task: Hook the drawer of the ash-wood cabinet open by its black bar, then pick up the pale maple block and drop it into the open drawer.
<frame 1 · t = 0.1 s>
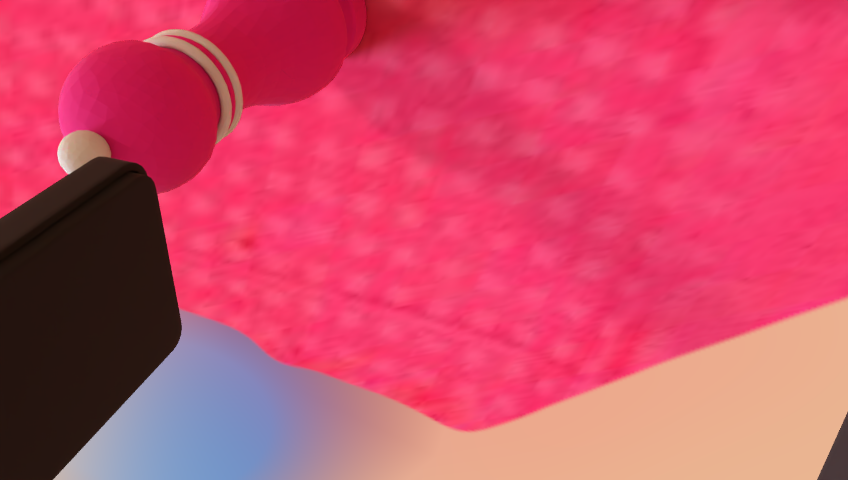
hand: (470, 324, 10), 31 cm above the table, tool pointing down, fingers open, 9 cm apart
pepper mill: (317, 6, 43), on the table
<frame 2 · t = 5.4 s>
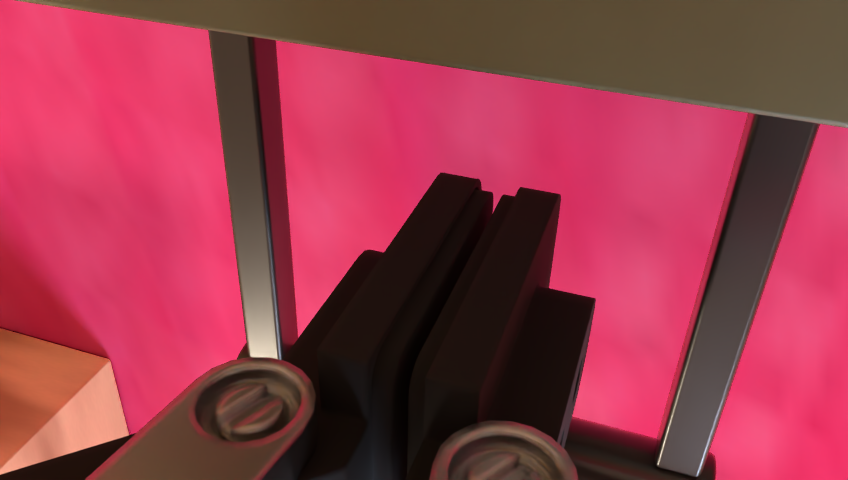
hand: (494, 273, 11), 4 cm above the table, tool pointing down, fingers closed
block: (57, 399, 24), on the table
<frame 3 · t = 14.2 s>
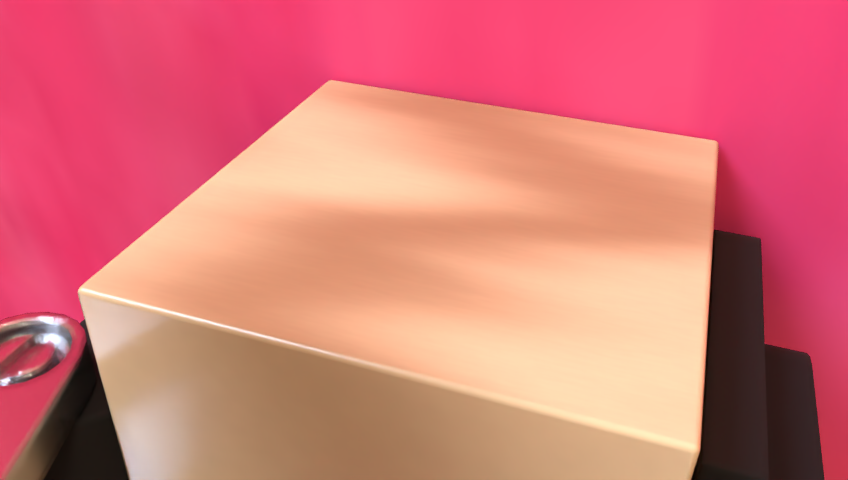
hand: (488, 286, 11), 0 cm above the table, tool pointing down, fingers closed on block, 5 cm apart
block: (496, 269, 11), on the table, touching gripper
when the fingers open (8 cm above the table, at t = 20.7 s): block drops 6 cm, resting on drawer.
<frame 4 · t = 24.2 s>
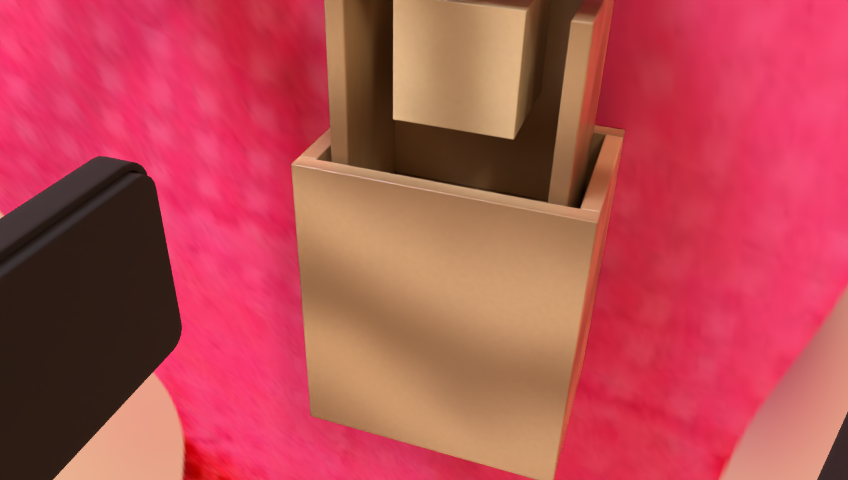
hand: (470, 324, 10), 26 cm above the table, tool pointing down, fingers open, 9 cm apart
cabinet: (482, 236, 41), on the table
drawer: (475, 0, 30), point 4 cm above the table, slide at 8.3 cm, touching block
block: (489, 29, 33), point 2 cm above the table, touching drawer
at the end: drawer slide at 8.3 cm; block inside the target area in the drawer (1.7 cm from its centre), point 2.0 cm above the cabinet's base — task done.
